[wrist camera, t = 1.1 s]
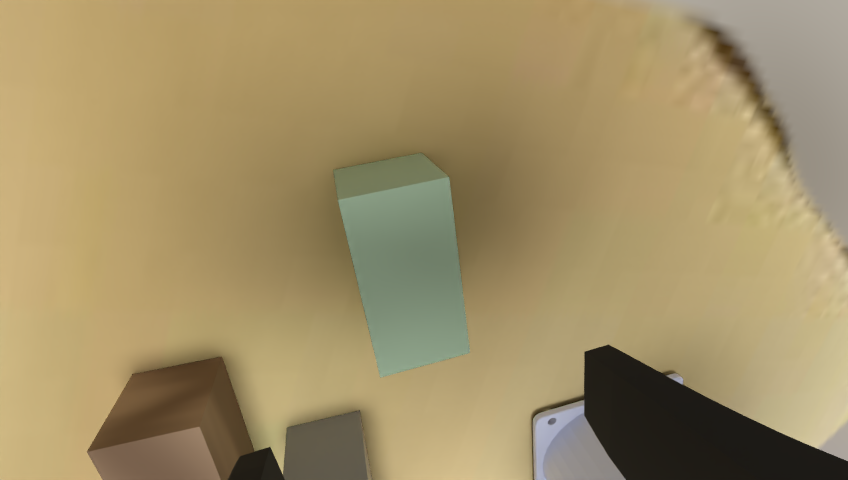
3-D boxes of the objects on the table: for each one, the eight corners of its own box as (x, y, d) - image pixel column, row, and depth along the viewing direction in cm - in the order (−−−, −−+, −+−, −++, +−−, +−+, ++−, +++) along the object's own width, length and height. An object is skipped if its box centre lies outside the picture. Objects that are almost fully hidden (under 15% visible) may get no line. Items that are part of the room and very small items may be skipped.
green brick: (420, 151, 17) (449, 176, 13) (442, 299, 20) (470, 352, 16) (333, 169, 16) (337, 199, 13) (368, 318, 19) (380, 377, 16)
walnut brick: (222, 354, 18) (199, 426, 15) (260, 466, 21) (248, 550, 17) (133, 371, 18) (86, 451, 14) (185, 485, 20) (157, 575, 17)
